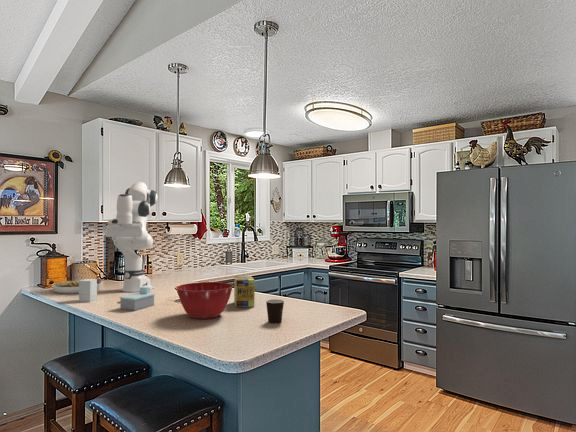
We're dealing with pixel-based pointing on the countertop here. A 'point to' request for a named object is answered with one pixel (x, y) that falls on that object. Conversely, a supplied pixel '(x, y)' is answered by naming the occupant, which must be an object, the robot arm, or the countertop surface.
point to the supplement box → (87, 290)
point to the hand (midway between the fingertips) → (123, 244)
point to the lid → (139, 294)
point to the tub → (136, 303)
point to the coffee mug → (274, 310)
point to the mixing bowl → (204, 298)
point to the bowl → (70, 287)
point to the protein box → (244, 291)
